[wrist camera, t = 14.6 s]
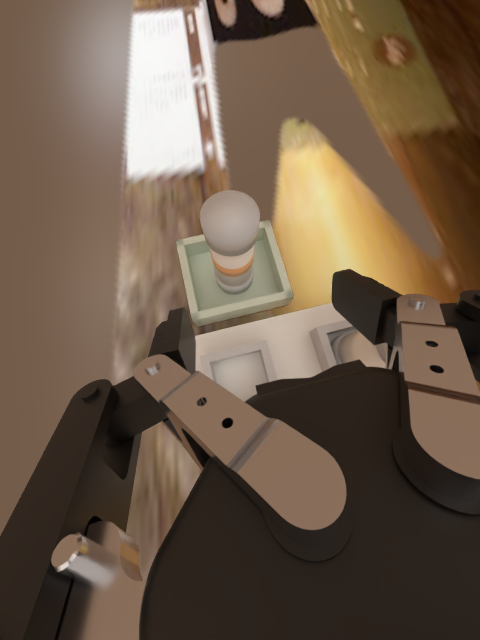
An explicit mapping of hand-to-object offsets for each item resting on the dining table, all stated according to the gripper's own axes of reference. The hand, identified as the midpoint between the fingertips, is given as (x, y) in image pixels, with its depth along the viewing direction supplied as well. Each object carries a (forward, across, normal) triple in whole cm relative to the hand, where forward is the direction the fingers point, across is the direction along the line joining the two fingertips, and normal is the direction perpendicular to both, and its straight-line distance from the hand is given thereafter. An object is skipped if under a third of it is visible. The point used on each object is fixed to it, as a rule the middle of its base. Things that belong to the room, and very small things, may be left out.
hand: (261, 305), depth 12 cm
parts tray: (+16, 0, +4) cm, 16 cm away
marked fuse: (+15, 0, +4) cm, 16 cm away
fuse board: (+7, -4, +13) cm, 15 cm away
